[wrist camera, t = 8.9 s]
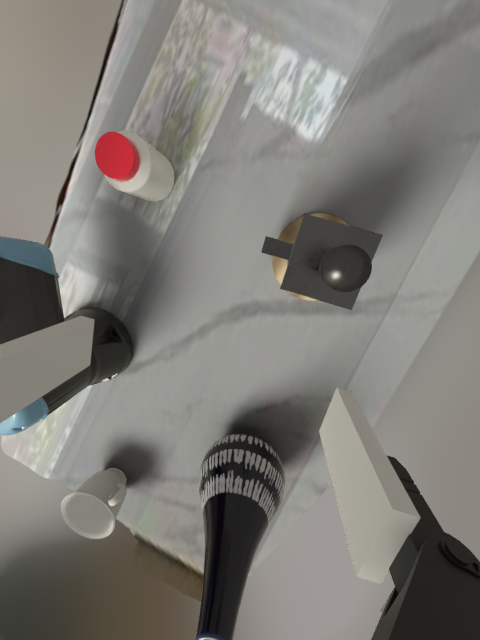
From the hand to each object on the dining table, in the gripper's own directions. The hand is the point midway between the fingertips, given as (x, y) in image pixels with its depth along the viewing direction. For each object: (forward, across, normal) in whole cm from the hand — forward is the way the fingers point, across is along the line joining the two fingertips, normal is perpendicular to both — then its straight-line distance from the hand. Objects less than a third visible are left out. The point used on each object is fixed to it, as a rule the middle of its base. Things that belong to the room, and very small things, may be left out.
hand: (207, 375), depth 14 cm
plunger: (+31, +9, +7) cm, 33 cm away
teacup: (+36, -19, -52) cm, 66 cm away
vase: (+35, +8, -34) cm, 50 cm away
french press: (+34, +7, +7) cm, 35 cm away
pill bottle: (+36, -21, +13) cm, 44 cm away
